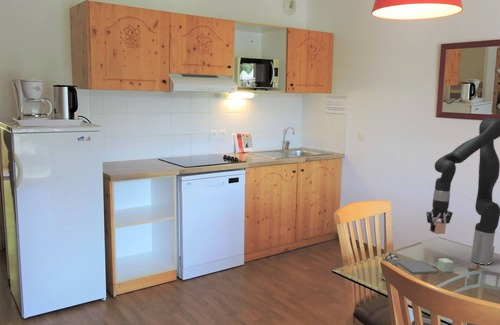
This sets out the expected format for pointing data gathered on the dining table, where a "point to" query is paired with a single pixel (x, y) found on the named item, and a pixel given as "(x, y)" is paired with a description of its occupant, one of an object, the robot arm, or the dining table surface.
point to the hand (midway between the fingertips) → (437, 231)
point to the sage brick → (445, 265)
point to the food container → (392, 259)
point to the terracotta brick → (439, 228)
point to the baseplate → (417, 267)
